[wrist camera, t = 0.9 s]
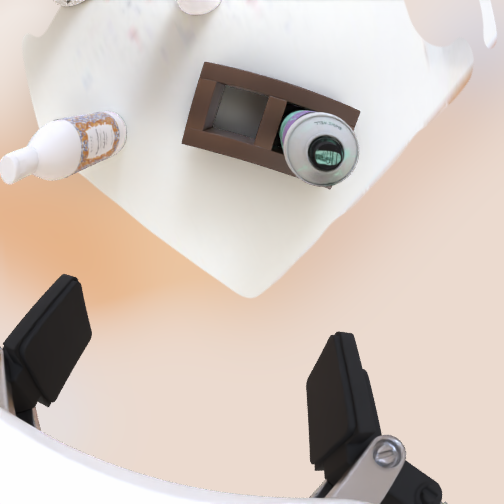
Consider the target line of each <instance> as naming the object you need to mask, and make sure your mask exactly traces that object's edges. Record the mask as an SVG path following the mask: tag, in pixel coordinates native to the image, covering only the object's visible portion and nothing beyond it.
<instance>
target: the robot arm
mask: <svg viewBox="0 0 504 504" xmlns="http://www.w3.org/2000/svg"><path fill="white" fill-rule="evenodd" d="M83 1H85V0H54V2H55V3H57V4H58V5H61V6H73V5H76V4H79V3H81V2H83ZM91 336H92V331H91V328H90V323H89V319H88V315H87V311H86V306H85V302H84V297H83V292H82V287H81V284H80V283H79V282H78V279H77V278H76V277H73V276H70V275H66V274H63V275H61V276H60V277H59V278H58V279H57V280H56V282H55V283H54V284H53V285H52V286H51V287H50V288H49V289H48V290H47V291H46V292H45V294H44V295H43V296H42V297H41V298H40V299H39V300H38V302H37V303H36V304H35V305H34V306H33V307H32V308H31V309H30V311H29V312H28V313H27V314H26V315H25V317H24V318H23V319H22V320H21V321H20V323H19V324H18V325H17V326H16V328H15V329H14V330H13V331H12V333H11V334H10V335H9V336H8V338H7V339H6V340H5V342H4V343H3V345H4V347H3V349H2V348H1V347H0V504H447V503H446V502H444V503H442V502H441V500H442V490H441V488H440V486H439V484H438V483H437V482H435V481H434V480H433V479H431V478H430V477H428V476H427V475H426V474H424V473H422V472H421V471H419V470H418V469H417V468H415V467H414V466H413V465H411V464H410V463H408V462H407V461H406V460H405V459H406V451H405V447H404V445H403V444H402V442H401V441H400V440H398V439H397V438H396V437H393V436H391V435H381V429H380V425H379V420H378V416H377V411H376V406H375V402H374V398H373V394H372V389H371V385H370V381H369V377H368V374H367V372H366V371H365V370H364V369H362V365H361V361H360V357H359V353H358V349H357V345H356V342H355V338H354V335H353V334H352V333H345V332H336V333H335V335H331V336H330V337H329V339H328V341H327V344H326V345H325V347H324V349H323V351H322V353H321V355H320V357H319V359H318V361H317V363H316V364H315V366H314V368H313V370H312V372H311V374H310V376H309V377H308V380H307V385H306V390H307V406H308V423H309V443H310V462H311V464H315V471H320V470H321V471H322V470H324V474H325V481H324V482H323V483H322V484H321V485H320V486H319V488H317V490H316V491H315V492H314V493H313V494H312V495H311V496H310V497H309V498H283V497H282V498H281V497H265V496H252V495H242V494H233V493H226V492H219V491H213V490H207V489H201V488H196V487H191V486H186V485H182V484H177V483H173V482H169V481H165V480H161V479H158V478H154V477H150V476H147V475H144V474H140V473H137V472H134V471H131V470H128V469H125V468H122V467H119V466H117V465H114V464H111V463H109V462H106V461H103V460H101V459H98V458H96V457H93V456H91V455H89V454H86V453H84V452H82V451H80V450H77V449H75V448H73V447H71V446H69V445H67V444H65V443H63V442H61V441H59V440H57V439H55V438H53V437H51V436H49V435H47V434H45V433H44V432H42V431H41V429H40V425H39V421H38V416H37V412H36V407H35V406H36V404H37V402H39V403H42V404H43V405H45V406H47V407H49V406H50V404H51V402H55V400H56V399H57V397H58V395H59V393H60V391H61V390H62V388H63V386H64V384H65V382H66V381H67V379H68V377H69V375H70V373H71V372H72V370H73V368H74V366H75V365H76V363H77V361H78V360H79V358H80V356H81V354H82V353H83V351H84V350H85V347H86V346H87V345H88V343H89V341H90V339H91Z"/></svg>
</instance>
